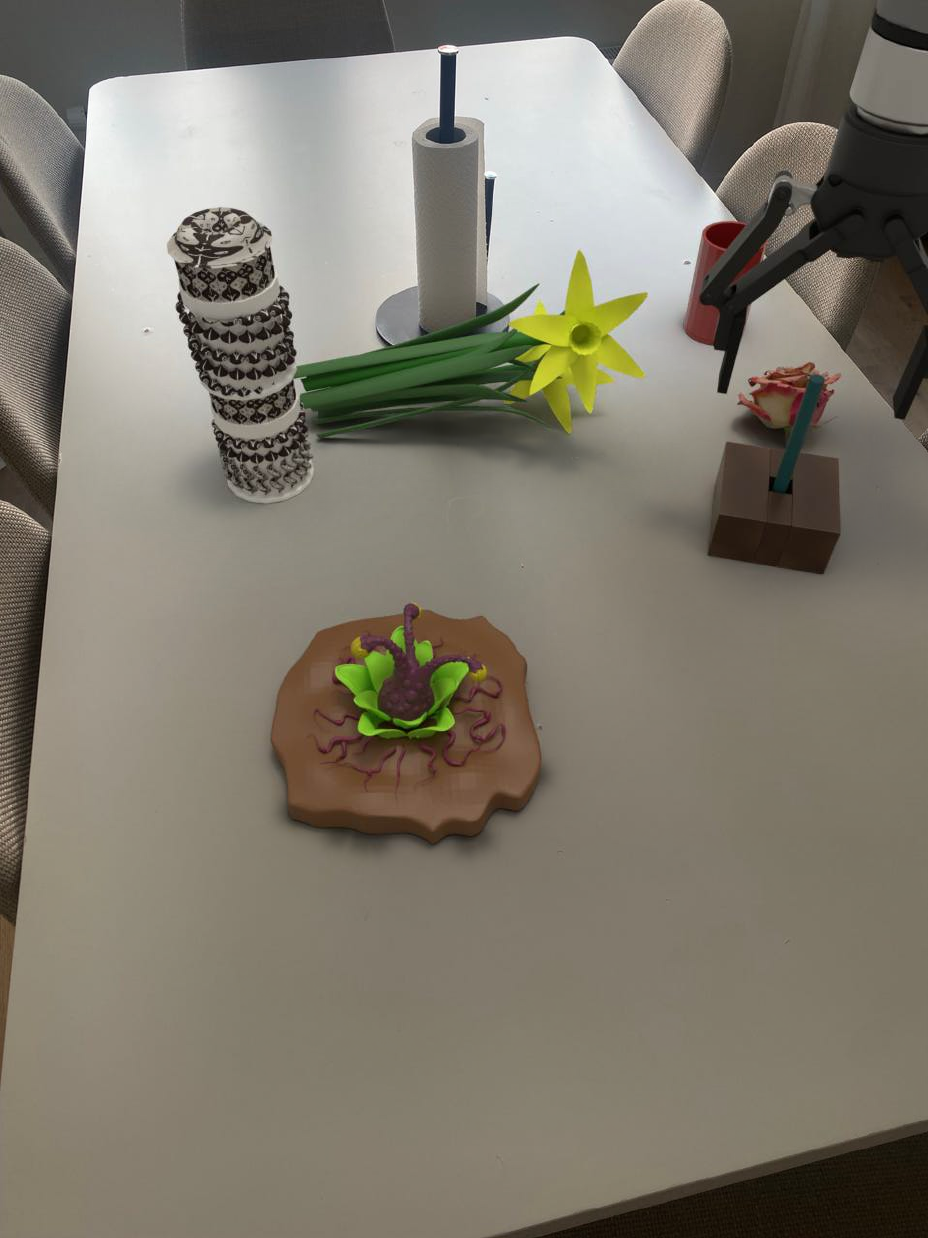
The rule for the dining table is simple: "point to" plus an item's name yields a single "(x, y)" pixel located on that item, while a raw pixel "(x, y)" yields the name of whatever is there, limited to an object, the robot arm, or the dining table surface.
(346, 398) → the daffodil flowers
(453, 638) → the plant
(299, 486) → the decorative candle
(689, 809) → the dining table surface
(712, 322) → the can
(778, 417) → the flower
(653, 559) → the dining table surface
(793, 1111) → the dining table surface
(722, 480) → the holder
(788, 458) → the straw
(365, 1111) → the dining table surface
